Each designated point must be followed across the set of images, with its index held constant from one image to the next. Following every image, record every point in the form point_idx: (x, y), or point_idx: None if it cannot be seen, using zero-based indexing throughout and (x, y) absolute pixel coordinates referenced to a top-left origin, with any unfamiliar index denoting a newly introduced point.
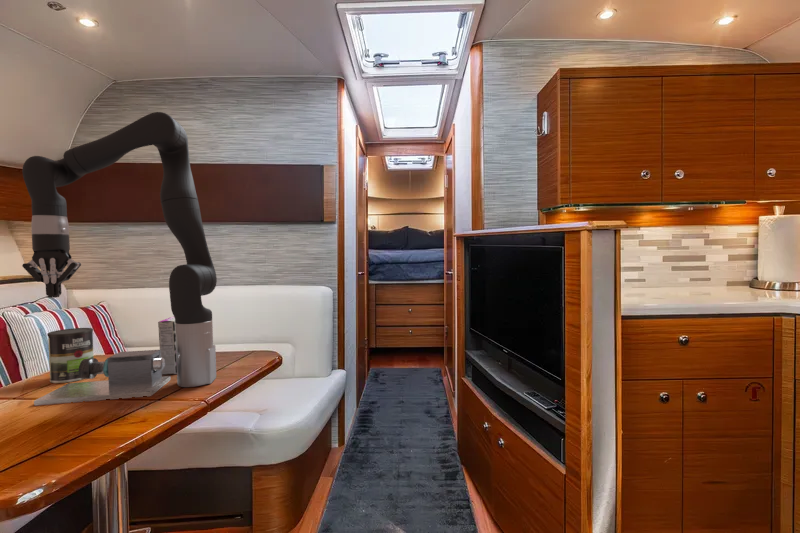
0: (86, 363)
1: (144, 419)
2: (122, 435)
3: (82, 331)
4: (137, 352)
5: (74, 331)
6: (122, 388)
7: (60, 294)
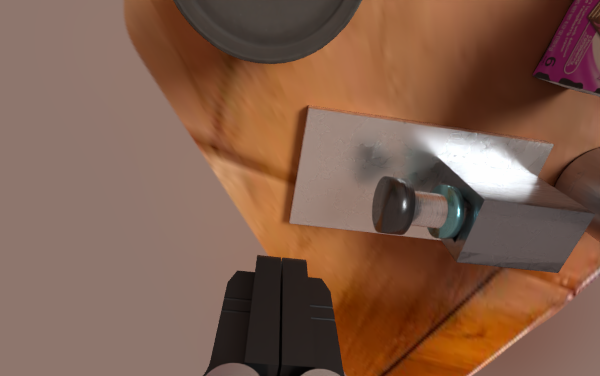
0: (397, 234)
1: (482, 330)
2: (457, 364)
3: (343, 10)
4: (530, 226)
5: None
6: None
7: (322, 286)
